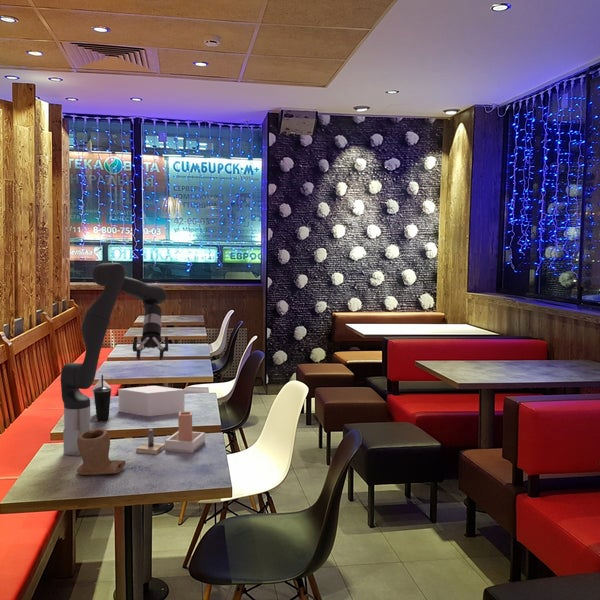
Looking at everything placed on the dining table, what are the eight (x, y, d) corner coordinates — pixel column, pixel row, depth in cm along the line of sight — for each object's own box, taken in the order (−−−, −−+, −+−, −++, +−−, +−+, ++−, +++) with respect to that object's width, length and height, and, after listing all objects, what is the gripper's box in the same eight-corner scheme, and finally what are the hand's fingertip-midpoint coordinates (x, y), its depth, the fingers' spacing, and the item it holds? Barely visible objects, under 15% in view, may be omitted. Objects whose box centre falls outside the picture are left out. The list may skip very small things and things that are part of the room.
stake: (153, 447, 244) (153, 430, 244) (147, 447, 244) (147, 430, 244) (153, 444, 247) (153, 428, 246) (148, 444, 247) (148, 428, 246)
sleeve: (191, 445, 248) (191, 415, 247) (178, 446, 247) (178, 415, 246) (192, 441, 253) (192, 411, 252) (179, 442, 252) (179, 411, 251)
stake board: (156, 454, 241) (156, 450, 241) (136, 452, 243) (136, 448, 243) (165, 447, 249) (165, 443, 249) (145, 445, 250) (145, 441, 250)
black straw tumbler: (112, 415, 292) (111, 380, 291) (92, 416, 289) (92, 381, 288) (110, 410, 300) (110, 376, 299) (91, 412, 297) (91, 377, 295)
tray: (192, 453, 243) (192, 442, 242) (165, 450, 245) (165, 440, 245) (205, 442, 255) (205, 432, 255) (178, 440, 258) (178, 430, 257)
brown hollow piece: (71, 480, 214) (71, 435, 213) (81, 467, 226) (81, 425, 225) (118, 479, 215) (118, 435, 214) (126, 467, 227) (125, 425, 226)
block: (122, 407, 306) (122, 385, 305) (186, 408, 307) (186, 386, 306) (114, 416, 291) (114, 392, 290) (181, 416, 292) (181, 393, 291)
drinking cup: (115, 419, 285) (115, 374, 283) (102, 423, 278) (101, 377, 277) (103, 417, 289) (102, 372, 287) (89, 421, 282) (89, 375, 280)
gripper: (134, 321, 270) (130, 353, 260) (168, 321, 272) (167, 353, 262) (135, 332, 276) (132, 364, 266) (169, 332, 278) (168, 364, 268)
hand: (149, 358), depth 264 cm, fingers open, 8 cm apart
